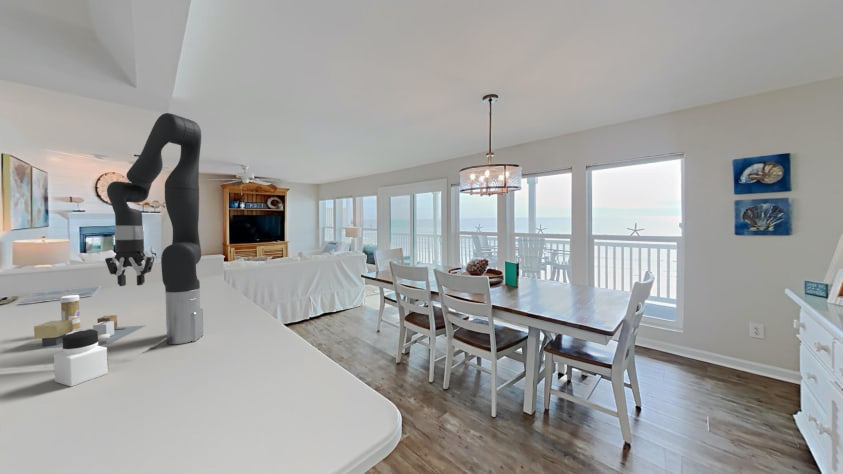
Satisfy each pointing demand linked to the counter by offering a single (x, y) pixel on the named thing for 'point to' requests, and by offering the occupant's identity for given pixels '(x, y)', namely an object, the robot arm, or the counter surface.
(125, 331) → the board
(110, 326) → the grey fader
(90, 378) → the medicine bottle
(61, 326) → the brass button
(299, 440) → the counter surface
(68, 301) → the sprinkles bottle
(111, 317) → the walnut fader
